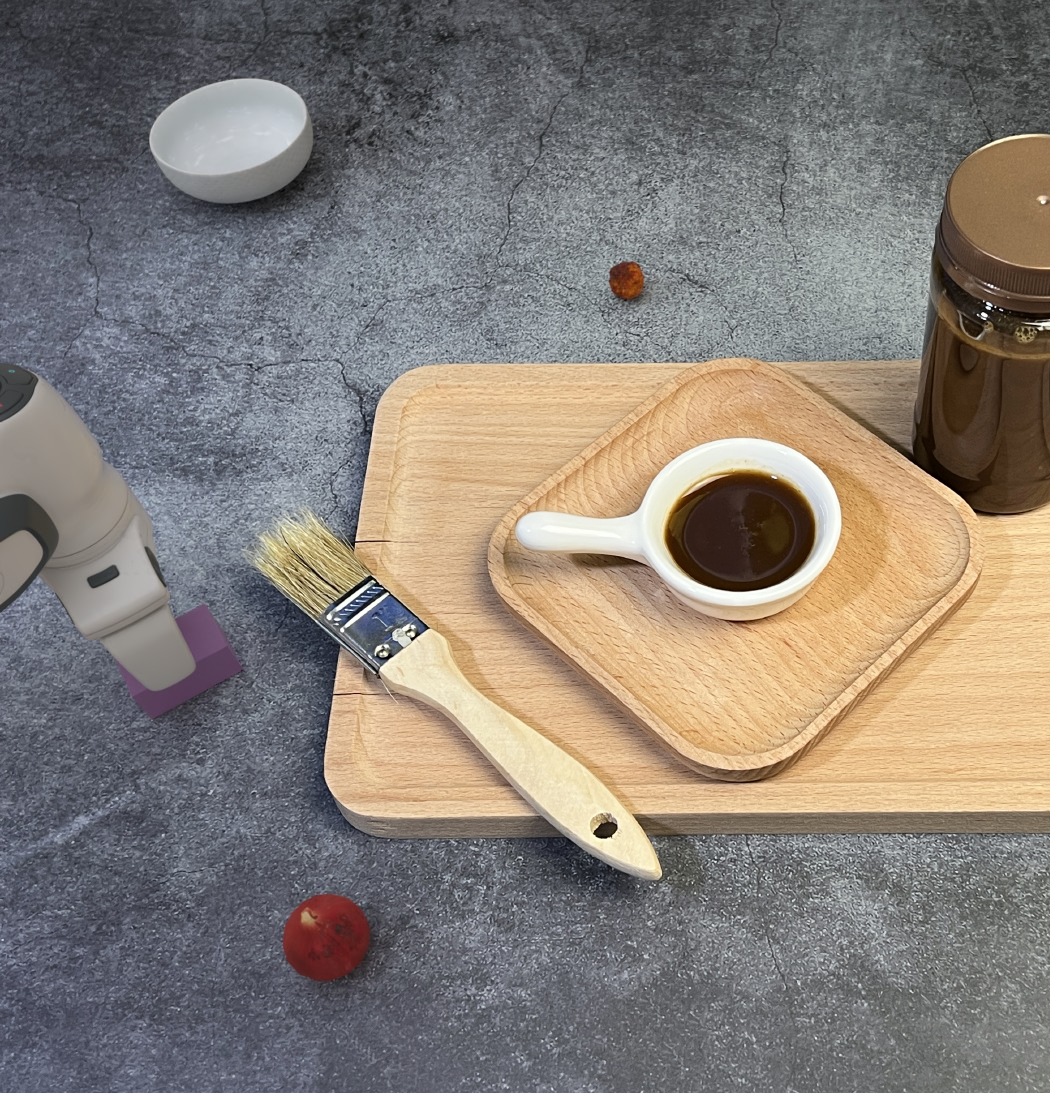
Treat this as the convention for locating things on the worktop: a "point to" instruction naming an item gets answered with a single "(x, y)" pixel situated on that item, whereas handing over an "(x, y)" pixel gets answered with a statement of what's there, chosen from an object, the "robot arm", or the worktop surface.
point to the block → (210, 660)
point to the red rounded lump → (326, 937)
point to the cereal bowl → (233, 140)
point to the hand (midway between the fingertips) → (159, 627)
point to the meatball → (626, 279)
